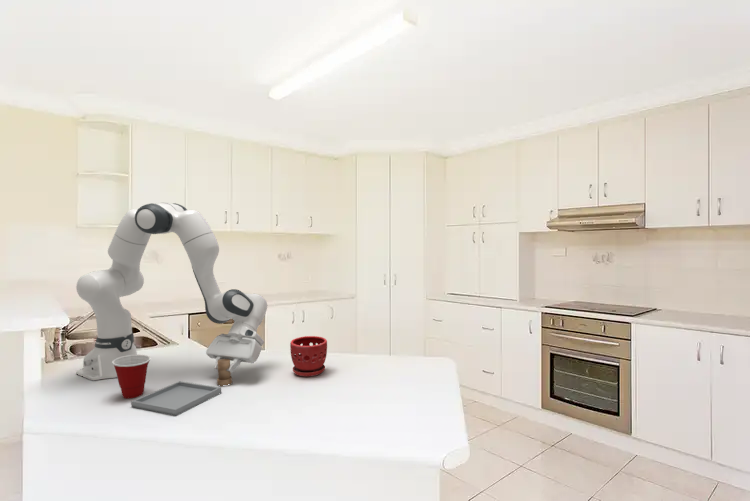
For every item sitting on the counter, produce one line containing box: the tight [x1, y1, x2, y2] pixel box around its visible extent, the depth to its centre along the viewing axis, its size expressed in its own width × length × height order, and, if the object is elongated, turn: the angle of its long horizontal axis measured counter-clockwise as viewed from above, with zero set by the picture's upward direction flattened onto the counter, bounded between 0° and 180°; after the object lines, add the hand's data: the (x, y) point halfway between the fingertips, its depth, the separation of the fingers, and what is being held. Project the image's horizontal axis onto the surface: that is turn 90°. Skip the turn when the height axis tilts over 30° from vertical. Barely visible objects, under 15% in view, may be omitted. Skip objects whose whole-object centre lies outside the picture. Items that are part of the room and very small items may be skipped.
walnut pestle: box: [216, 359, 233, 387], centre depth 147 cm, size 5×5×8 cm
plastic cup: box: [112, 354, 152, 400], centre depth 139 cm, size 11×11×12 cm
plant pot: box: [289, 335, 328, 378], centre depth 156 cm, size 13×13×12 cm
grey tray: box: [130, 380, 222, 417], centre depth 134 cm, size 18×18×2 cm
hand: (222, 371), depth 146 cm, fingers closed on walnut pestle, 4 cm apart
